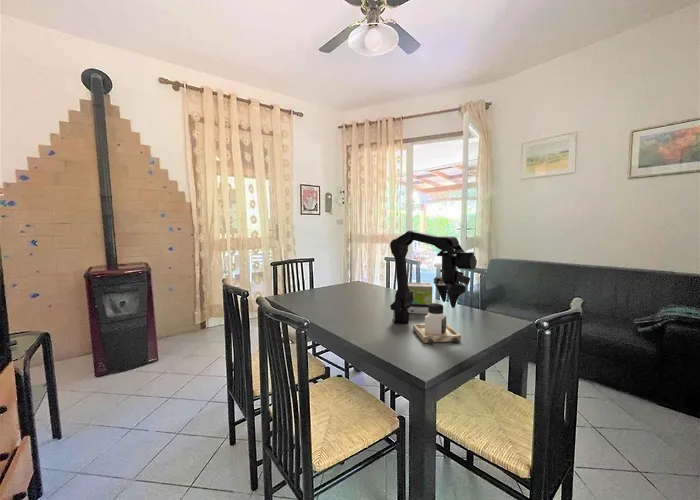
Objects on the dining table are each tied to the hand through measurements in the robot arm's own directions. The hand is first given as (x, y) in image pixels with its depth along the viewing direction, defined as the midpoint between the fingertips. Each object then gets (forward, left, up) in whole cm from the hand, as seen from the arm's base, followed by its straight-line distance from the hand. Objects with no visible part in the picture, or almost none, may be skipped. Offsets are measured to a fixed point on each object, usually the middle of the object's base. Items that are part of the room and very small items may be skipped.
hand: (448, 304), depth 126 cm
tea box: (-3, +34, -13) cm, 37 cm away
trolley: (-5, 0, -13) cm, 14 cm away
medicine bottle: (-5, 0, -12) cm, 13 cm away
